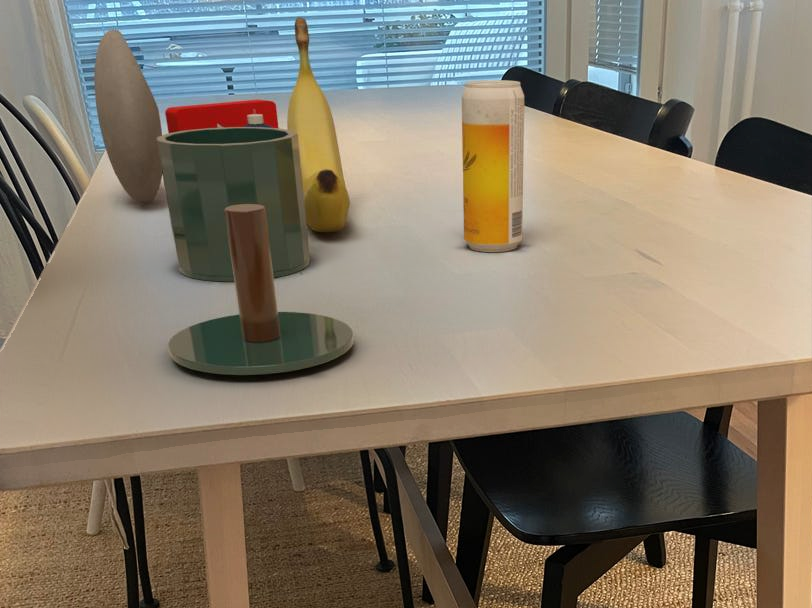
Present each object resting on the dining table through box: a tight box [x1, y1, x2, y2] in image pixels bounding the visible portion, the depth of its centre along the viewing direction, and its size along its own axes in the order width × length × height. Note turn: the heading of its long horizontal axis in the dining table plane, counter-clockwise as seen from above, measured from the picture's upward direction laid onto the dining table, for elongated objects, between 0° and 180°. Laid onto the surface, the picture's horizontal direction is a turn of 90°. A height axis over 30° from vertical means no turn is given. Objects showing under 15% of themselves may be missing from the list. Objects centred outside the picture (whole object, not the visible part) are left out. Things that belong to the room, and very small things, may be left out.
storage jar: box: [156, 127, 311, 283], centre depth 94 cm, size 13×13×12 cm
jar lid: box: [167, 204, 355, 376], centre depth 71 cm, size 14×14×10 cm
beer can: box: [461, 79, 525, 253], centre depth 99 cm, size 6×6×15 cm
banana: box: [286, 16, 351, 233], centre depth 107 cm, size 23×6×20 cm, turn 12°
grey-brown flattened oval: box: [93, 29, 163, 205], centre depth 120 cm, size 18×7×19 cm, turn 21°
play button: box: [164, 99, 280, 134], centre depth 132 cm, size 15×3×10 cm, turn 133°
